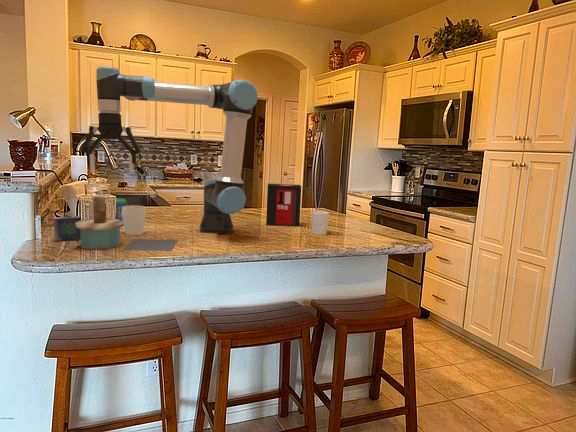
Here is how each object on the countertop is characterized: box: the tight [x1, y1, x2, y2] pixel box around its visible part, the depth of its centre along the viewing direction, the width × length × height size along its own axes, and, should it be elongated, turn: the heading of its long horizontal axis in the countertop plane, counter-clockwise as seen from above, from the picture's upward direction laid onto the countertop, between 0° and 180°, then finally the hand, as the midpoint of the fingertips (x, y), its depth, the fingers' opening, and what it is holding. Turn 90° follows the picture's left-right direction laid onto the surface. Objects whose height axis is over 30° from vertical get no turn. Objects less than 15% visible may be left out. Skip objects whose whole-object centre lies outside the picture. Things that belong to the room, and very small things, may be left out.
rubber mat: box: [122, 238, 179, 252], centre depth 158 cm, size 17×17×1 cm
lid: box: [75, 196, 124, 230], centre depth 153 cm, size 16×16×10 cm
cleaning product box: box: [265, 183, 302, 228], centre depth 214 cm, size 16×9×20 cm, turn 92°
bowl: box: [79, 227, 121, 250], centre depth 155 cm, size 13×13×8 cm
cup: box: [122, 204, 146, 236], centre depth 175 cm, size 9×9×12 cm
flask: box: [53, 212, 82, 242], centre depth 163 cm, size 9×3×11 cm, turn 121°
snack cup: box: [115, 197, 129, 221], centre depth 205 cm, size 16×10×10 cm
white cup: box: [311, 210, 330, 236], centre depth 196 cm, size 8×8×10 cm
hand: (112, 172), depth 155 cm, fingers open, 13 cm apart
